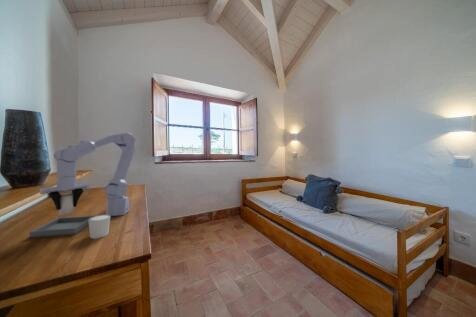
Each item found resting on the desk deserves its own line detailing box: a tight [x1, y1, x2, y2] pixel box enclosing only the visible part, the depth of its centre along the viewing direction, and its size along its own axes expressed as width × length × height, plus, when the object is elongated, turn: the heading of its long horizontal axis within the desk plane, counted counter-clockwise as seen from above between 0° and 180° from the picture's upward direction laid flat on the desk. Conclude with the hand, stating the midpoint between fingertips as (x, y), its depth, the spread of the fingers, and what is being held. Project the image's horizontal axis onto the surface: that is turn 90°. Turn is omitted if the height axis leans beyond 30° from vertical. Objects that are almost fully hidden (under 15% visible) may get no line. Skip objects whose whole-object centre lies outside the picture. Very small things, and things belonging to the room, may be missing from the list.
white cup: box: [88, 214, 111, 239], centre depth 66 cm, size 7×7×7 cm
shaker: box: [58, 192, 75, 216], centre depth 71 cm, size 5×5×8 cm
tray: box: [29, 215, 96, 239], centre depth 71 cm, size 14×14×2 cm
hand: (66, 207), depth 71 cm, fingers closed on shaker, 4 cm apart
